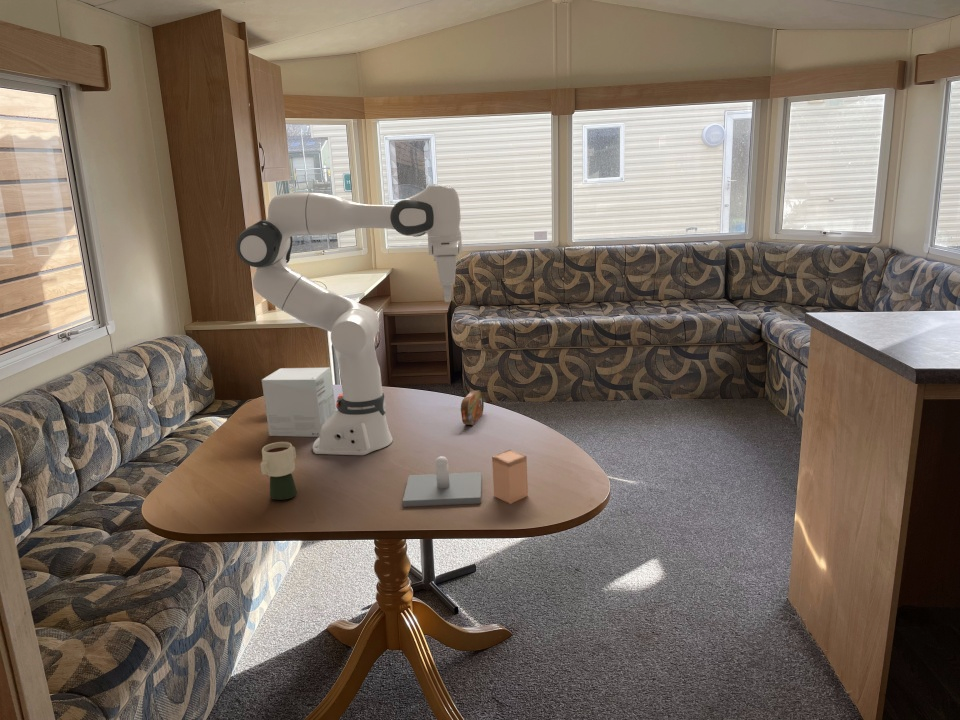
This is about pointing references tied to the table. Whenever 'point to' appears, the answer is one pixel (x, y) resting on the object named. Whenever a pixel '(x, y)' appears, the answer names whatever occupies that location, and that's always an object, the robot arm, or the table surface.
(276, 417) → the supplement box
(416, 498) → the base
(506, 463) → the tall lidded tan box
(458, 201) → the robot arm
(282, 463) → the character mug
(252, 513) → the table surface
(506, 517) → the table surface
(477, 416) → the tin
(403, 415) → the table surface
